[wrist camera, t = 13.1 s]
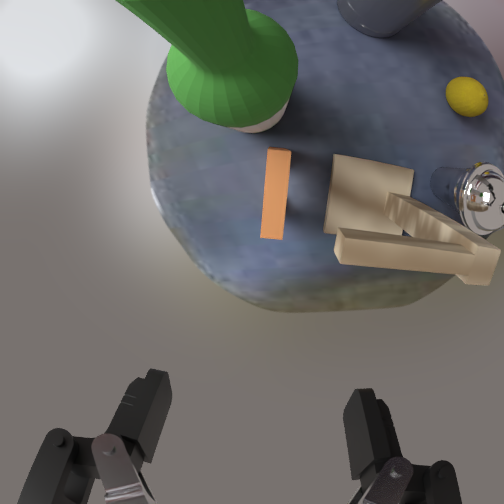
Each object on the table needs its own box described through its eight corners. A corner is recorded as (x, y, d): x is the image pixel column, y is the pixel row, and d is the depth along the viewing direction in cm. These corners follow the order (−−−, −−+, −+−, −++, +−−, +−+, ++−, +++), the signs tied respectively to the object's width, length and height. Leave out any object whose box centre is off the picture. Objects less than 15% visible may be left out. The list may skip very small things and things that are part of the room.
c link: (269, 146, 32) (267, 149, 23) (285, 148, 32) (291, 151, 22) (263, 209, 35) (260, 237, 26) (279, 211, 35) (282, 239, 26)
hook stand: (309, 150, 32) (357, 164, 14) (410, 168, 31) (515, 207, 13) (300, 227, 36) (326, 321, 17) (396, 239, 35) (476, 322, 17)
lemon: (440, 117, 28) (474, 116, 21) (432, 79, 26) (464, 70, 19) (467, 117, 27) (501, 118, 20) (459, 81, 25) (492, 76, 18)
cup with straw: (462, 153, 29) (565, 180, 11) (462, 212, 33) (553, 269, 14) (416, 153, 31) (525, 180, 12) (419, 217, 34) (510, 285, 15)
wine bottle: (250, 62, 28) (171, -130, 1) (299, 101, 30) (412, -48, 2) (208, 107, 31) (-6, 42, 3) (256, 146, 32) (159, 185, 5)
